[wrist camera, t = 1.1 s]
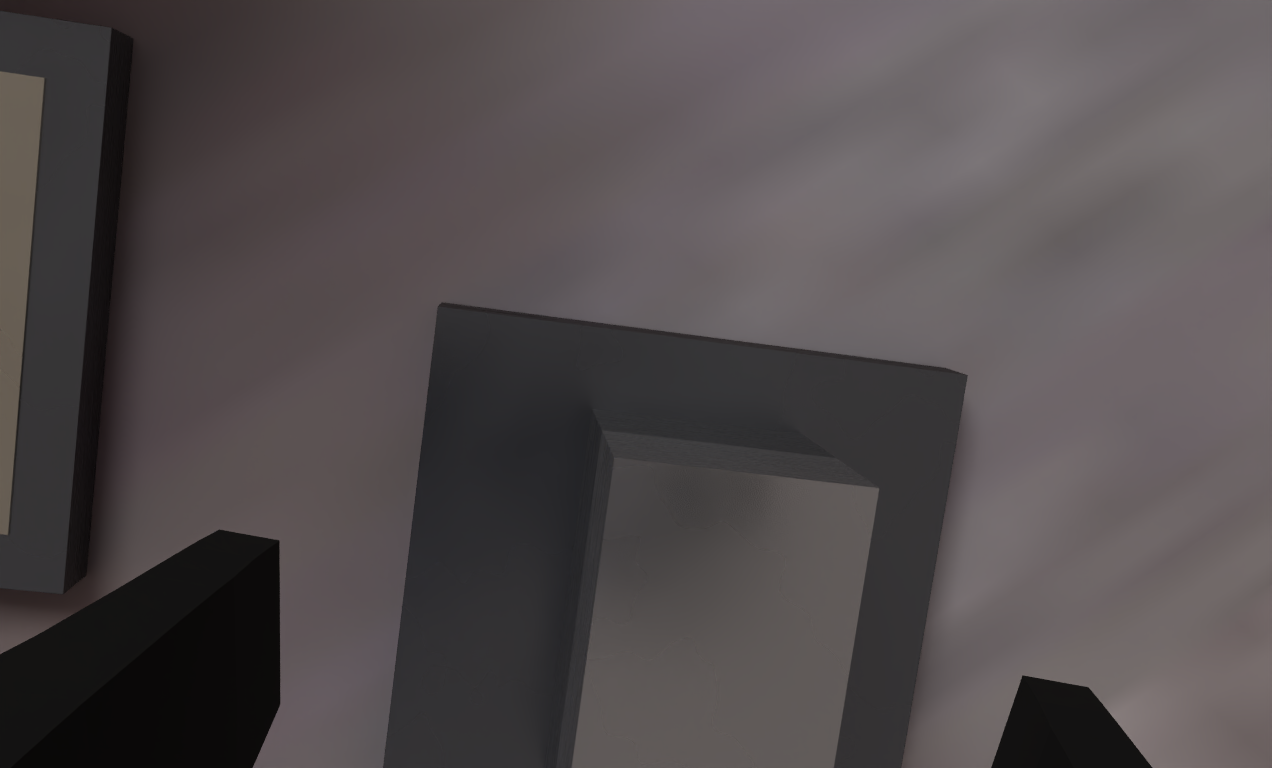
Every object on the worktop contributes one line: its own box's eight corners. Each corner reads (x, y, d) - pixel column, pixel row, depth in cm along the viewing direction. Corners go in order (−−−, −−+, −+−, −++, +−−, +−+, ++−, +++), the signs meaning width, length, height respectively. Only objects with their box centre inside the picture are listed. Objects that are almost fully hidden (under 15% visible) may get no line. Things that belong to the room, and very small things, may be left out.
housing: (747, 786, 24) (807, 926, 19) (543, 768, 23) (552, 908, 18) (802, 433, 23) (878, 488, 18) (592, 408, 22) (614, 457, 18)
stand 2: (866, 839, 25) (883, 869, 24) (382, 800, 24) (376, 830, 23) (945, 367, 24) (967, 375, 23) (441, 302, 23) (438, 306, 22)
